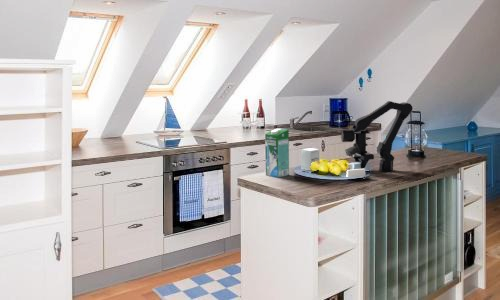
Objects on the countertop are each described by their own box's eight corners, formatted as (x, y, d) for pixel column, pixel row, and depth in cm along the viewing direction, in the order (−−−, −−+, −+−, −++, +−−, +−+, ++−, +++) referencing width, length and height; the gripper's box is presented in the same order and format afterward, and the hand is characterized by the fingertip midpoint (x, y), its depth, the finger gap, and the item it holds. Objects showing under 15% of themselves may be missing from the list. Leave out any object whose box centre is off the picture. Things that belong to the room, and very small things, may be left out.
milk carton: (265, 175, 262) (264, 129, 258) (277, 172, 268) (276, 127, 264) (278, 177, 256) (277, 131, 251) (289, 174, 262) (288, 129, 257)
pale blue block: (366, 170, 269) (366, 161, 268) (370, 171, 265) (370, 162, 264) (350, 171, 266) (350, 162, 265) (354, 173, 262) (354, 164, 261)
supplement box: (310, 173, 264) (310, 150, 262) (300, 171, 269) (300, 149, 267) (319, 171, 268) (319, 149, 266) (310, 169, 274) (309, 147, 272)
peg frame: (334, 174, 261) (334, 165, 260) (350, 172, 264) (350, 163, 263) (347, 180, 246) (348, 170, 245) (365, 178, 249) (365, 169, 248)
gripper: (339, 140, 269) (339, 167, 272) (356, 145, 252) (355, 174, 254) (357, 139, 272) (356, 166, 275) (374, 143, 255) (374, 172, 258)
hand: (360, 169), depth 265 cm, fingers closed on pale blue block, 4 cm apart
